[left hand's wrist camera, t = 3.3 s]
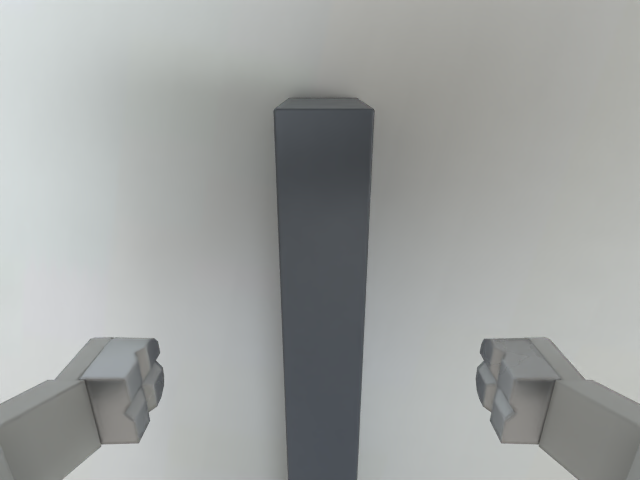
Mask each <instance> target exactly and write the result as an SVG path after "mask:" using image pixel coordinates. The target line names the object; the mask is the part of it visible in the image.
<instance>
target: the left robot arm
mask: <svg viewBox="0 0 640 480" xmlns="http://www.w3.org/2000/svg"><path fill="white" fill-rule="evenodd" d="M159 354H160V350H159V345H158V341H157V340H156V339H154V338H119V337H115V338H113V337H95V338H92V339H90V340H89V341H88V342H87V343H86V344H85V346H84V347H83V348H82V349H81V350H80V351H79V352H78V354H77V355H76V356H75V357H74V358H73V359H72V360H71V362H70V363H69V364H68V365H67V366H66V367H65V368H64V369H63V371H62V372H61V373H60V374H59V375H58V376H57V377H56V379H55V380H47V381H45V382H43V383H41V384H39V385H37V386H35V387H33V388H31V389H29V390H27V391H25V392H23V393H21V394H19V395H17V396H15V397H13V398H11V399H9V400H7V401H5V402H3V403H1V404H0V480H62V479H63V478H64V477H66V476H67V475H68V474H69V473H70V472H72V471H73V470H74V469H75V468H76V467H77V466H79V465H80V464H81V463H82V462H83V461H85V460H86V459H87V458H88V457H89V456H90V455H92V454H93V453H94V452H95V451H96V450H98V449H99V448H100V447H101V444H130V443H139V442H140V440H141V438H142V436H143V434H144V432H145V430H146V428H147V426H148V424H149V422H150V418H149V412H150V411H151V410H153V409H154V408H155V407H157V405H158V403H159V401H160V399H161V396H162V392H163V387H164V373H163V367H162V366H161V365H160V364H159V363H158V362H157V361H156V359H157V357H158V356H159ZM480 354H481V356H482V357H483V359H484V361H483V362H482V363H481V364H480V365H479V366H478V367H477V374H476V387H477V392H478V396H479V399H480V401H481V403H482V405H483V407H485V408H486V409H487V410H489V411H490V412H491V418H490V422H491V424H492V426H493V428H494V430H495V432H496V434H497V436H498V438H499V440H500V442H501V443H509V444H539V447H540V448H541V449H543V450H544V451H545V452H546V453H547V454H549V455H550V456H551V457H552V458H553V459H554V460H556V461H557V462H558V463H559V464H560V465H562V466H563V467H564V468H565V469H566V470H567V471H569V472H570V473H571V474H572V475H573V476H574V477H576V478H577V479H578V480H640V404H639V403H637V402H635V401H633V400H631V399H629V398H627V397H625V396H623V395H621V394H619V393H617V392H615V391H613V390H611V389H609V388H607V387H605V386H603V385H601V384H599V383H597V382H595V381H593V380H585V379H584V377H583V376H582V375H581V374H580V373H579V372H578V371H577V369H576V368H575V367H574V366H573V365H572V364H571V363H570V362H569V360H568V359H567V358H566V357H565V356H564V355H563V354H562V352H561V351H560V350H559V349H558V348H557V347H556V346H555V344H554V343H553V342H552V341H551V340H550V339H548V338H546V337H532V338H502V339H484V340H483V342H482V344H481V349H480Z"/></svg>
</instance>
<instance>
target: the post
mask: <svg viewBox="0 0 640 480" xmlns="http://www.w3.org/2000/svg"><path fill="white" fill-rule="evenodd" d="M373 129H374V109H373V108H371V107H370V106H368V105H367V104H365V103H364V102H362V101H361V100H359V99H358V98H288V99H287V100H286V101H284V102H283V103H282V104H280V105H279V106H278V107H276V108H275V109H274V132H275V158H276V183H277V209H278V234H279V259H280V285H281V310H282V336H283V361H284V387H285V412H286V438H287V463H288V480H357V470H358V449H359V427H360V406H361V385H362V363H363V342H364V321H365V299H366V278H367V257H368V235H369V214H370V193H371V171H372V150H373Z"/></svg>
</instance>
